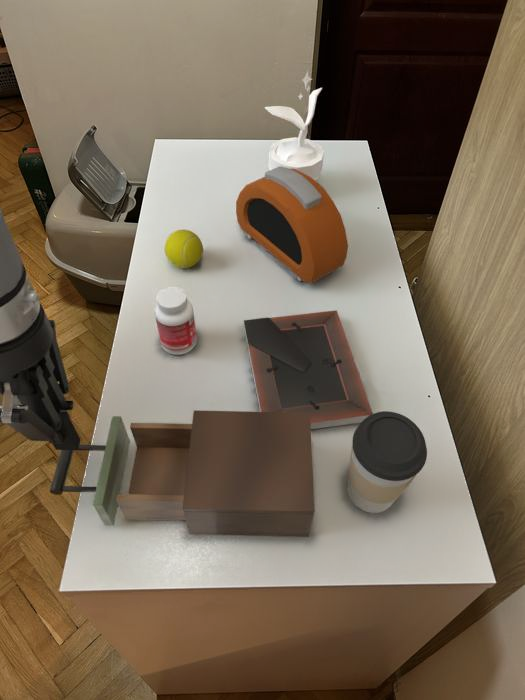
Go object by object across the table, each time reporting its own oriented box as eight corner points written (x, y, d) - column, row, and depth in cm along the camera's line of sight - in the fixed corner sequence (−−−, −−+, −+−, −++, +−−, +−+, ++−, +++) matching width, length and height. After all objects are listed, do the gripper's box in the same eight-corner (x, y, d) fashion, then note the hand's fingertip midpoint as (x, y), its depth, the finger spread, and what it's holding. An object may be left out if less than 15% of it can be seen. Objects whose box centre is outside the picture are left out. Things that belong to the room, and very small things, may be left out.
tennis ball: (160, 264, 103) (154, 236, 97) (184, 246, 106) (180, 217, 101) (186, 280, 100) (183, 251, 95) (211, 260, 104) (208, 232, 98)
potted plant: (317, 176, 122) (329, 63, 102) (321, 207, 115) (335, 91, 95) (262, 176, 122) (264, 62, 102) (263, 207, 114) (265, 91, 95)
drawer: (53, 524, 70) (36, 503, 64) (75, 439, 78) (62, 414, 72) (215, 528, 70) (212, 507, 64) (221, 442, 78) (219, 418, 72)
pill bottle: (199, 352, 89) (194, 307, 81) (163, 359, 88) (153, 314, 80) (194, 325, 93) (188, 280, 84) (159, 331, 92) (149, 285, 83)
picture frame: (243, 329, 93) (264, 437, 79) (243, 320, 91) (264, 428, 77) (335, 318, 95) (370, 422, 81) (337, 309, 93) (373, 413, 79)
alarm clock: (234, 230, 110) (232, 156, 96) (268, 213, 113) (270, 140, 100) (310, 294, 98) (319, 220, 85) (345, 273, 102) (359, 200, 89)
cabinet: (189, 534, 70) (182, 508, 63) (198, 441, 79) (193, 410, 72) (308, 537, 70) (314, 511, 63) (305, 444, 79) (310, 412, 72)
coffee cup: (405, 466, 77) (432, 411, 65) (402, 527, 71) (432, 478, 59) (343, 454, 78) (359, 398, 66) (335, 513, 72) (351, 462, 60)
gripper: (19, 378, 43) (86, 495, 62) (59, 268, 51) (108, 401, 70) (-73, 375, 43) (22, 493, 62) (-18, 266, 51) (51, 399, 70)
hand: (68, 444), depth 66 cm, fingers closed
